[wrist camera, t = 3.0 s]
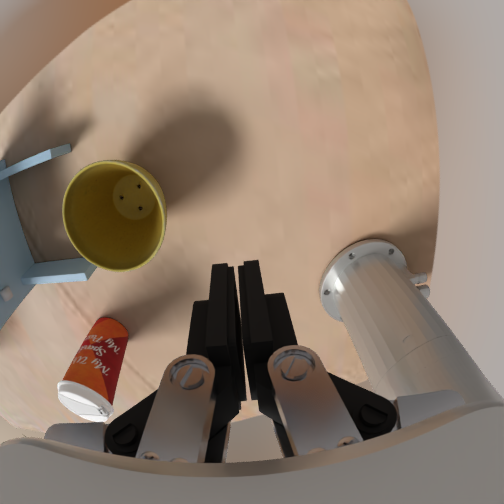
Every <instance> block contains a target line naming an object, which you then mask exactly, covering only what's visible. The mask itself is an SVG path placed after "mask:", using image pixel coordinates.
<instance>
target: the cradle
mask: <svg viewBox="0 0 504 504" xmlns="http://www.w3.org/2000/svg"><path fill="white" fill-rule="evenodd" d="M69 152H71V147H70V143H69V144H66V145H62V146H59V147H56V148H52V149H49V150H47V151H44V152H42V153H39V154H37V155H34V156H32V157H30V158H28V159H25V160H23V161H21V162H19V163H17V164H14V165H12V166H10V167H8V168H6V163H5V159H3V160H1V161H0V330H1V328H2V327H3V326H4V324H5V323H6V321H7V320H8V319H9V317H10V316H11V315H12V313H13V312H14V311H15V309H16V308H17V307H18V306H19V304H20V303H21V302H22V301H23V299H24V298H25V297H26V296H27V294H28V293H29V292H30V291H31V290H32V288H33V287H34V286H35V285H36V284H44V283H60V282H74V281H87V280H88V279H89V278H90V276H91V275H92V273H93V272H94V271H95V269H96V268H97V266H95V265H94V264H92V263H90V262H89V261H88V260H86V259H85V258H84V257H83V258H75V259H66V260H58V261H50V262H42V263H34V260H33V258H32V255H31V252H30V250H29V247H28V244H27V241H26V239H25V236H24V233H23V230H22V227H21V224H20V220H19V217H18V214H17V210H16V207H15V203H14V199H13V195H12V191H11V187H10V183H9V178H8V176H11V175H13V174H15V173H17V172H20V171H22V170H24V169H27V168H29V167H31V166H34V165H36V164H39V163H42V162H44V161H47V160H49V159H52V158H55V157H58V156H60V155H63V154H66V153H69Z"/></svg>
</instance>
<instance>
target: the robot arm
mask: <svg viewBox="0 0 504 504" xmlns="http://www.w3.org/2000/svg"><path fill="white" fill-rule="evenodd" d="M238 274H239V292H240V309H241V318H240V311H239V304H238V296H237V289H236V281H235V274H234V267H233V266H232V267H228V264H227V263H223V264H213V265H212V272H211V283H210V293H209V300H203V301H195V302H194V304H193V310H192V317H191V323H190V330H189V337H188V345H187V352H186V355H184V356H180V357H178V358H176V359H175V360H173V361H172V362H171V363H170V364H169V365H168V366H167V368H166V370H165V371H164V374H163V377H162V380H161V383H160V385H159V388H158V389H157V390H156V391H155V392H153V393H152V394H150V395H149V396H148V397H146V398H145V399H143V400H142V401H141V402H139V403H138V404H136V405H135V406H133V407H132V408H130V409H129V410H128V411H126V412H125V413H123V414H122V415H120V416H119V417H117V418H116V419H114V420H113V421H112V422H111V423H110V424H105V423H104V422H92V423H59V424H54V425H52V426H51V427H49V429H48V430H47V431H46V433H45V437H44V439H42V438H34V437H23V438H15V439H11V440H8V441H5V442H3V443H2V444H0V504H504V399H503V398H502V396H501V395H500V394H499V393H498V392H497V391H496V389H495V388H494V387H493V386H492V385H491V383H490V382H489V381H488V379H487V378H486V377H485V376H484V374H483V373H482V372H481V370H480V369H479V367H478V366H477V365H476V363H475V362H474V361H473V359H472V358H471V356H470V355H469V354H468V352H467V351H466V350H465V348H464V347H463V345H462V344H461V343H460V341H459V340H458V339H457V338H456V336H455V335H454V333H453V332H452V331H451V329H450V328H449V327H448V326H447V324H446V323H445V322H444V320H443V319H442V318H441V316H440V315H439V314H438V313H437V311H436V310H435V309H434V308H433V307H432V305H431V304H430V303H429V302H428V300H427V299H426V298H428V297H429V295H430V289H429V287H428V285H426V284H425V285H421V286H415V285H414V284H416V283H417V284H419V283H424V282H426V281H427V275H426V273H425V272H422V273H417V274H412V273H411V272H410V271H409V270H408V269H407V263H406V260H405V257H404V256H403V254H402V252H401V251H400V250H399V249H398V248H397V247H396V246H395V245H393V244H392V243H390V242H388V241H385V240H381V239H368V240H364V241H360V242H357V243H355V244H353V245H351V246H349V247H347V248H346V249H344V250H343V251H342V252H340V253H339V254H338V255H337V256H336V257H335V258H334V259H333V260H332V261H331V263H330V264H329V265H328V267H327V268H326V270H325V272H324V274H323V276H322V279H321V282H320V288H319V295H320V300H321V303H322V305H323V307H324V309H325V311H326V312H327V314H328V315H329V316H331V317H332V318H334V319H335V320H338V321H340V322H344V324H345V327H346V329H347V331H348V333H349V335H350V337H351V340H352V342H353V344H354V346H355V349H356V351H357V353H358V355H359V358H360V360H361V362H362V365H363V367H364V369H365V372H366V374H367V376H368V379H369V381H370V383H371V386H372V388H373V391H374V393H373V392H371V391H368V390H366V389H364V388H361V387H359V386H357V385H355V384H352V383H350V382H348V381H346V380H344V379H341V378H339V377H337V376H335V375H333V374H331V373H329V372H327V371H326V369H325V367H324V365H323V363H322V362H321V360H320V358H319V356H318V355H317V354H316V353H315V352H314V351H313V350H311V349H310V348H307V347H304V346H299V345H298V344H297V340H296V336H295V332H294V329H293V325H292V321H291V318H290V314H289V310H288V307H287V303H286V299H285V296H284V293H275V294H266V295H265V294H264V288H263V283H262V277H261V272H260V266H259V261H258V260H253V261H244V265H242V266H238ZM241 325H242V326H241ZM242 339H243V341H242ZM243 349H244V355H245V362H246V368H247V375H248V381H249V387H250V393H251V399H252V400H258V405H259V411H260V412H261V413H263V414H265V415H266V416H268V417H269V418H271V423H272V426H273V429H274V432H275V435H276V438H277V441H278V444H279V447H280V449H281V453H282V456H283V458H281V459H273V460H264V461H253V462H237V463H226V457H227V449H228V443H229V436H230V428H231V420H232V419H233V418H234V417H235V416H236V415H237V414H238V413H239V410H241V401H246V400H247V398H246V384H245V370H244V356H243Z"/></svg>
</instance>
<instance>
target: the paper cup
mask: <svg viewBox="0 0 504 504" xmlns="http://www.w3.org/2000/svg"><path fill="white" fill-rule="evenodd" d="M127 342H128V332H127V330H126V328H125V327H124V326H123V325H122V324H121V323H119V322H118V321H116V320H114V319H111V318H107V317H103V318H100V319H98V320H97V321H96V323H95V324H94V326H93V327H92V329H91V330H90V332H89V333H88V335H87V337H86V338H85V340H84V342H83V344H82V345H81V347H80V349H79V350H78V352H77V354H76V356H75V358H74V359H73V361H72V363H71V365H70V367H69V369H68V370H67V372H66V374H65V376H64V378H63V380H62V381H60V382H59V383H58V385H57V388H58V398H59V400H60V401H61V403H62V404H63V405H64V406H65V407H66V408H68V409H69V410H70V411H72V412H73V413H75V414H77V415H78V416H80V417H83V418H85V419H88V420H91V421H95V422H105V421H106V420H107V419H108V418H109V416H111V415H112V414H113V412H114V409H113V407H112V405H113V400H114V395H115V391H116V386H117V382H118V378H119V374H120V370H121V366H122V362H123V358H124V354H125V350H126V346H127Z"/></svg>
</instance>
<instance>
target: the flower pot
mask: <svg viewBox="0 0 504 504" xmlns="http://www.w3.org/2000/svg"><path fill="white" fill-rule="evenodd" d="M138 185H140V186H141V187H140V188H138ZM120 196H123V199H121V198H120ZM140 206H141V207H142V210H139V207H140ZM62 216H63V223H64V227H65V230H66V232H67V235H68V237H69V239H70V241H71V243H72V244H73V246H74V247H75V248H76V250H77V251H78V252H79V253H80V254H81V255H82V256H83V257H84V258H85V259H86V260H88V261H89V262H90V263H92V264H94V265H95V266H97V267H99V268H102V269H105V270H109V271H113V272H128V271H132V270H136V269H138V268H140V267H142V266H144V265H145V264H147V263H148V262H149V261H151V259H152V258H154V256H155V255H156V254H157V252H158V250H159V249H160V247H161V244H162V242H163V239H164V235H165V230H166V222H167V210H166V202H165V198H164V195H163V192H162V189H161V187H160V185H159V184H158V182H157V181H156V179H155V178H154V177H153V176H152V175H151V174H150V173H149V172H148V171H146V170H145V169H144V168H142V167H140V166H138V165H136V164H133V163H130V162H126V161H121V160H105V161H99V162H95V163H92V164H90V165H88V166H86V167H84V168H83V169H81V170H80V171H79V172H78V173H77V174H76V175H75V176H74V177H73V178H72V180H71V181H70V183H69V185H68V187H67V189H66V191H65V194H64V198H63V205H62Z"/></svg>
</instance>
